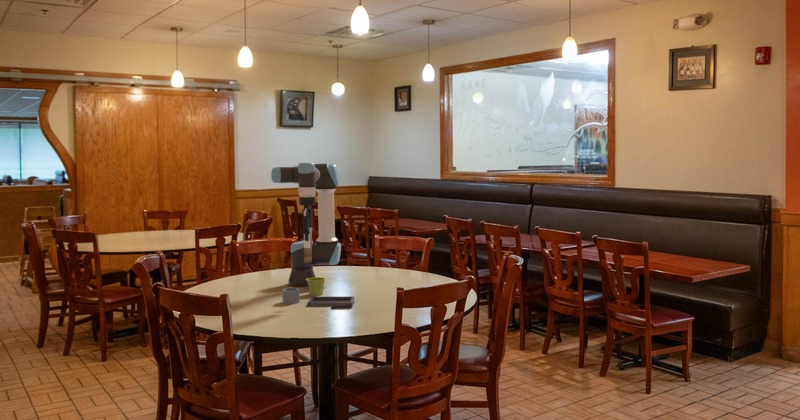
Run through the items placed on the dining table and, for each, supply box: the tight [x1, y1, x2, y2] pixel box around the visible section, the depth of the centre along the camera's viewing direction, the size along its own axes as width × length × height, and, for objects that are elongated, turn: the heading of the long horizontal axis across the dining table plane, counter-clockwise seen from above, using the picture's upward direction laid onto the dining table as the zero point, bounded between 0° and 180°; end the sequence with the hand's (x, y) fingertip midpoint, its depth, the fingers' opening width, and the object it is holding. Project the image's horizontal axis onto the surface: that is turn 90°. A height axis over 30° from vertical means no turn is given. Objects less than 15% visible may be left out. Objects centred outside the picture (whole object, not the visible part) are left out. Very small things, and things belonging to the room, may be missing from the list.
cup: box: [281, 287, 301, 305], centre depth 314 cm, size 8×8×7 cm
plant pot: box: [306, 276, 326, 297], centre depth 332 cm, size 9×9×9 cm
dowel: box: [304, 227, 313, 263], centre depth 311 cm, size 4×4×16 cm
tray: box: [307, 295, 355, 309], centre depth 312 cm, size 14×20×2 cm
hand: (308, 247), depth 311 cm, fingers closed on dowel, 3 cm apart
